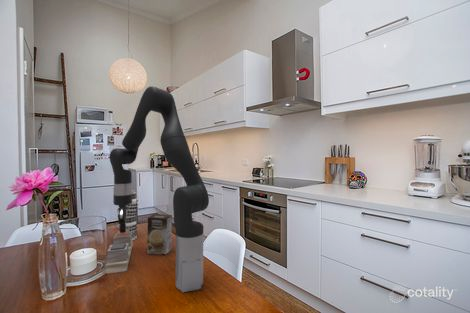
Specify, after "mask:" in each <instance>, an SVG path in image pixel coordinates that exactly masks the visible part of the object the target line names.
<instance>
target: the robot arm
mask: <svg viewBox="0 0 470 313" xmlns="http://www.w3.org/2000/svg"><path fill="white" fill-rule="evenodd" d="M151 112H155V113H159V114H160V115H161V116H162V119H163V123H164V127H163V130H162V132H161V136H160V145H161V146H160V147H161V149H162V152H163V155H164V158H165V159H166V161H167V162H168V163H169V164H170V165H171V167H173V168H174V169H175V171H177V172H178V173H179V174H180V175H181V177H182V178H183V179H184V180H183V181H184V183H185V184H186V185H183V186H180V187H177V188H176V189H175V190H174V192H173V198H172V208H173V209H172V210H173V224H174V229H175V287H176V288H177V289H178V290H179V291H180V292H181V293H187V292H191V291H192V292H193V291H198V290H201V289H202V286H203V284H204V224H203V223H201V222H200V221H196V220H193V214H195V213H198V212H202V211H205V210H207V208H208V206H209V204H210V203H209V202H210V201H209V200H210V198H209V194H208V193H209V192H208V190H207V187H206V185H205V184H204V181H203V179H202V177H201V175H200V173H199V170H198V168H197V166H196V164H195V161H194V158H193V156H192V153H191V151H190V147H189V143H188V141H187V139H186V136H185V134H184V130H183V128H182V124H181V121H180V118H179V115H178V114H179V113H178V110H177V107H176V102H175V98H174V96H173V94H172V93H171V92H170V91H167V90H165V89H162V88H159V87H157V86H152V85H150V86H148V87H147V88H146V89H145V90H144V91H143V93H142V95H141V98H140V100H139V103H138V105H137V108H136V112H135V114H134V118H133V120H132V123H131V124H130V127H129V128H128V130H127V132H126V134H125V135H124V137H123V138H122V141H121V144H122V147H124V148H116V147H115V148H113V149H112V150H110V153H109V162H110V165H111V167H112V168H111V169H112V171H113V172H112V173H113V201H112V202H113V205H114V206H118V205H119V206H118V209H117V212H116V213H117V221H118V224H119V225H120V228H119V229H120V233H123V232H125V231H126V222H127V221H126V220H127V216H128V207H127V205H129V204H131V203H132V189H133V185H132V182H133V180H132V176H133V175H132V171H131V170H130V169H125V167H124V166H123V165H131V164H133V163H134V162H135V161H136V159H137V157H138V156H137V155H138V152H139V147H140V146H141V144H142V143H143V142H144V140H145V138H146V136H147V124H146V122H147V121H146V120H147V116H149V113H151Z"/></svg>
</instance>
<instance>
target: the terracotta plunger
mask: <svg viewBox="0 0 470 313" xmlns="http://www.w3.org/2000/svg"><path fill="white" fill-rule="evenodd" d="M116 233H117V237H125V236H129V230H126V231H125V232H123V233H120V231H119V230H118V231H117V232H116Z"/></svg>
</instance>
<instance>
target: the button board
mask: <svg viewBox="0 0 470 313" xmlns="http://www.w3.org/2000/svg"><path fill="white" fill-rule="evenodd" d="M122 243H125V249H118V250H111V248H112V246H113V244H122ZM113 244H110V245H109V247H108V249H107V252H106V256H107V258H106V259H107V260H106V261H107V262H106V264H105V275H106V274H108V275H109V274H114V273H115V274H116V273H121V272H127V271H128V267H129V263H130V258H131V254H132V249H133V240H132V232H129V236H125V237H117V232H116V233H115V235H114V236H113Z"/></svg>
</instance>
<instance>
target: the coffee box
mask: <svg viewBox="0 0 470 313" xmlns="http://www.w3.org/2000/svg"><path fill="white" fill-rule="evenodd" d="M172 220H173V215H172V214H162V213H160V214H158V213H153V214H151V215H149V216H148V217H147V241H146V242H147V244H146V245H147V248H146V249H147V250H146V251H147V252H146V254H148V255H161V254H165V256H166V254H167V253H168V254H169V253H170V252H171V251H172V235H173V234H172V228H173V227H172V225H173V223H172V222H173V221H172ZM168 254H167V255H168Z"/></svg>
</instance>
